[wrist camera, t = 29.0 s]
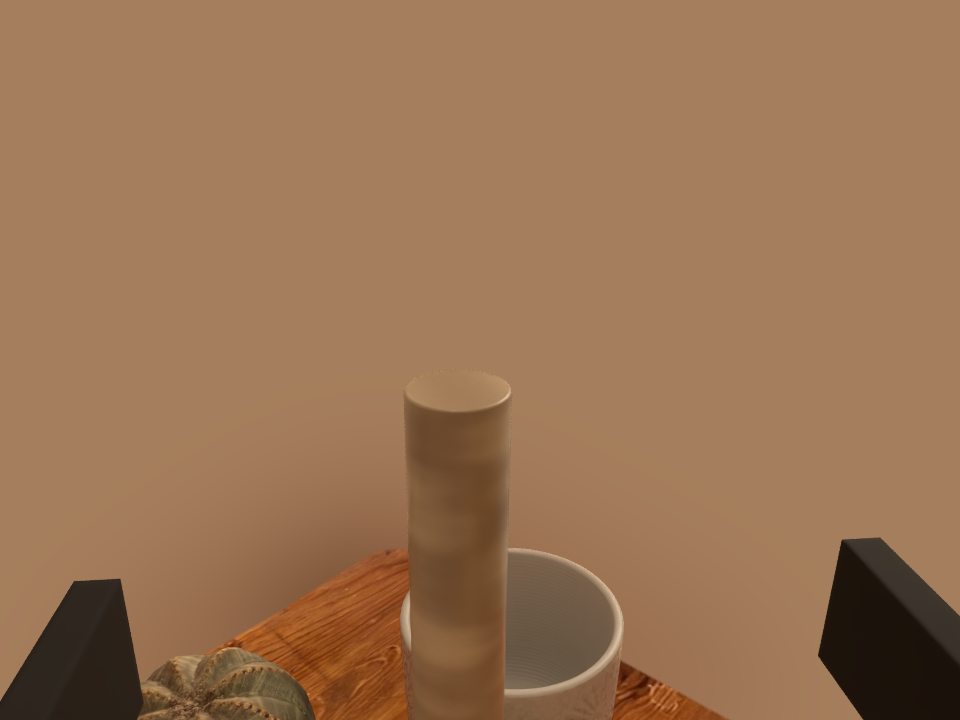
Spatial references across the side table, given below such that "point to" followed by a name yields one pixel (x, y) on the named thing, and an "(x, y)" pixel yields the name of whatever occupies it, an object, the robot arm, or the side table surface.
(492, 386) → the paper towel holder
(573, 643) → the planter
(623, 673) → the side table surface
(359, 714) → the side table surface
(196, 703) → the brown ribbed round dome
